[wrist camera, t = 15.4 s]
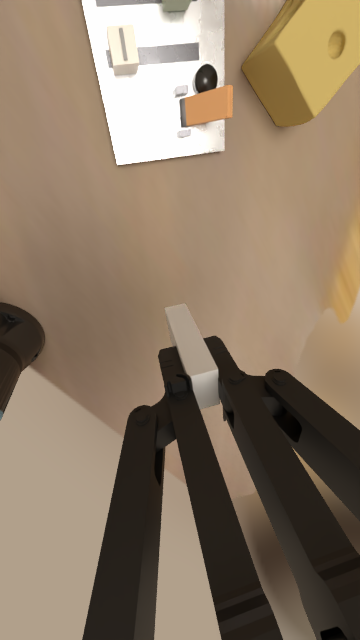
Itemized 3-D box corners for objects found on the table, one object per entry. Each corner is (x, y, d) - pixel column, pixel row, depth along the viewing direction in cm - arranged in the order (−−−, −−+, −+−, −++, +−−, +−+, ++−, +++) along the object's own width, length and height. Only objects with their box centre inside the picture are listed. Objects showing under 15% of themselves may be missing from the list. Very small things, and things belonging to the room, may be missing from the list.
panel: (117, 164, 38) (117, 165, 35) (70, -52, 26) (64, -80, 23) (219, 150, 40) (228, 150, 37) (217, -56, 28) (230, -83, 25)
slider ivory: (113, 75, 31) (113, 64, 27) (107, 40, 29) (106, 24, 26) (137, 73, 31) (139, 62, 28) (131, 38, 29) (133, 22, 26)
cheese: (292, -12, 31) (353, -72, 23) (326, 69, 37) (386, 43, 29) (235, 68, 35) (271, 40, 26) (275, 132, 40) (315, 125, 32)
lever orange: (180, 127, 35) (227, 117, 30) (178, 99, 33) (227, 84, 29) (186, 126, 36) (232, 117, 31) (184, 99, 34) (233, 85, 29)
